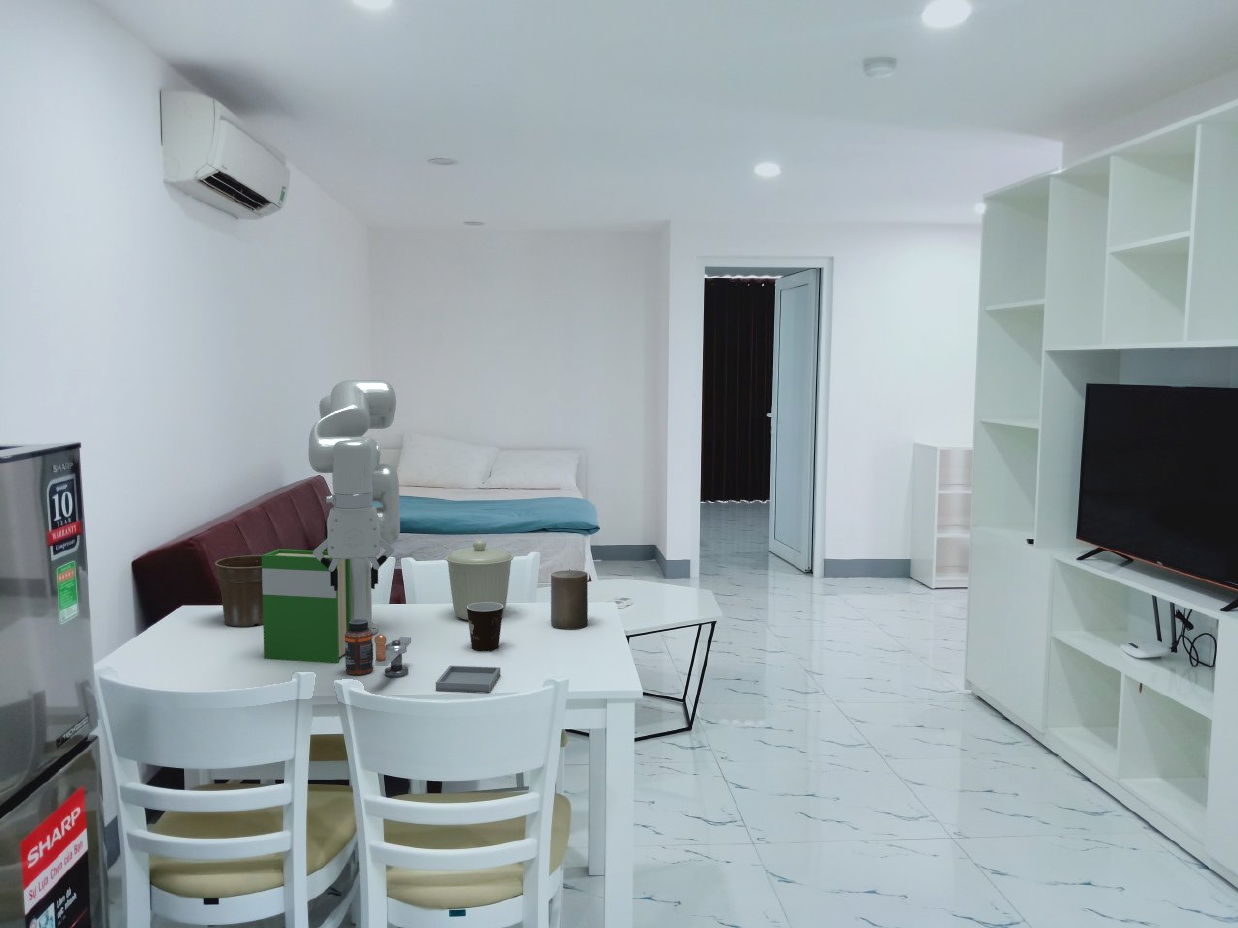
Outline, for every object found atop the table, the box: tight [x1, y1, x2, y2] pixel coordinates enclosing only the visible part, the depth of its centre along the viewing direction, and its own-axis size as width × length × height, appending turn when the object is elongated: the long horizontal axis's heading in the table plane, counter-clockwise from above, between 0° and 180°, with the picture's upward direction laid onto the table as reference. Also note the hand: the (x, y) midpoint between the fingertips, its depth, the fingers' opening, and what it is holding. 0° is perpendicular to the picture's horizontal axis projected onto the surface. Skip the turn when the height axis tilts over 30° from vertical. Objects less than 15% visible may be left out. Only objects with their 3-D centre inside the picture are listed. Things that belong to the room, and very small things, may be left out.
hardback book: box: [261, 548, 351, 664], centre depth 213 cm, size 18×7×24 cm, turn 81°
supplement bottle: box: [344, 619, 375, 676], centre depth 203 cm, size 6×6×11 cm
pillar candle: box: [550, 568, 589, 630], centre depth 243 cm, size 10×10×15 cm
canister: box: [444, 538, 515, 621], centre depth 250 cm, size 18×18×21 cm
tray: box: [435, 665, 501, 694], centre depth 197 cm, size 11×11×2 cm
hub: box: [384, 654, 409, 679], centre depth 202 cm, size 5×5×5 cm
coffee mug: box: [467, 602, 504, 653], centre depth 221 cm, size 12×9×10 cm
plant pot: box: [214, 554, 263, 628], centre depth 242 cm, size 16×16×16 cm
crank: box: [374, 634, 412, 667], centre depth 200 cm, size 18×4×7 cm, turn 176°
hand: (354, 587), depth 189 cm, fingers open, 6 cm apart
